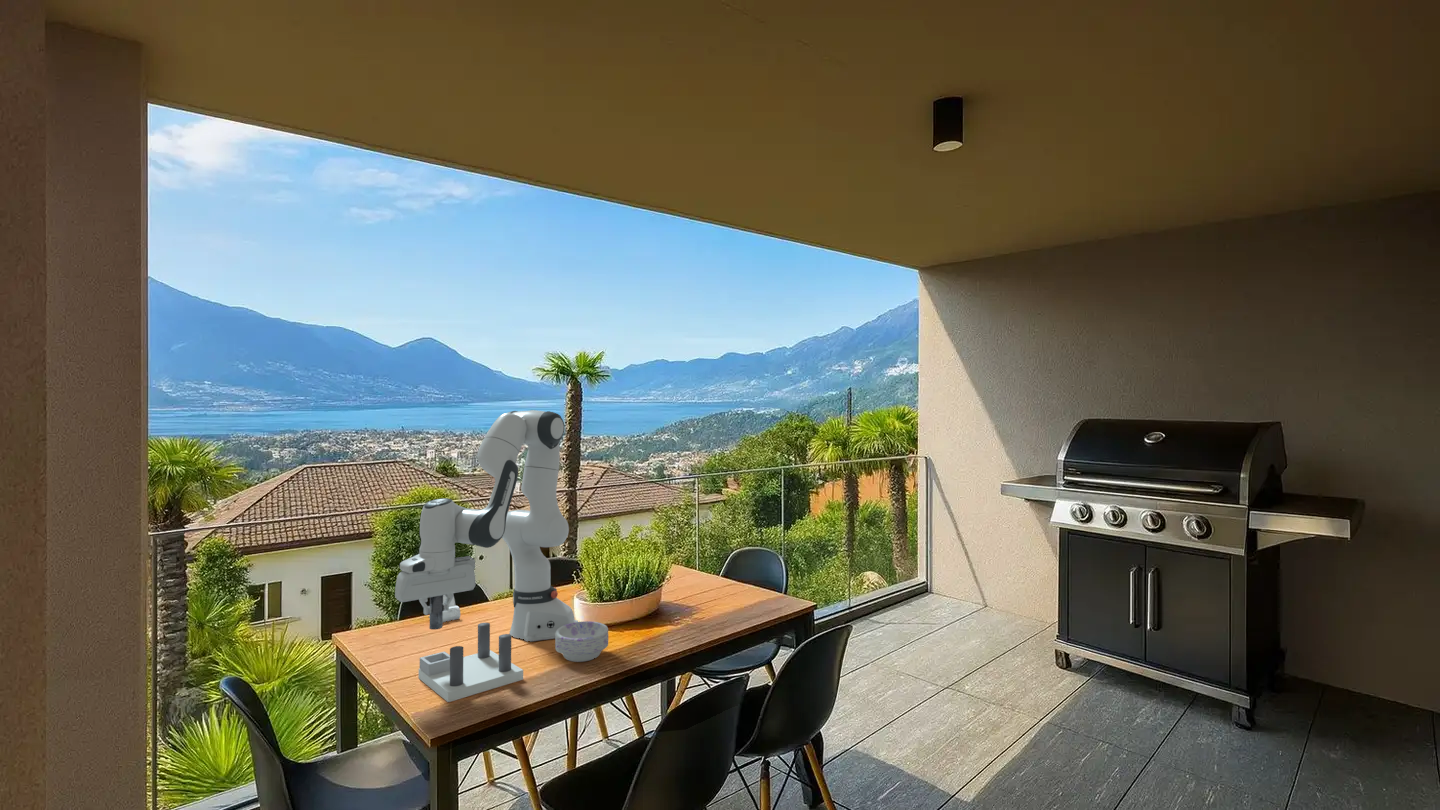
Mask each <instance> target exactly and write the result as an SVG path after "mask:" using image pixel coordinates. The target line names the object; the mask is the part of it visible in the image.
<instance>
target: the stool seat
mask: <svg viewBox="0 0 1440 810" xmlns="http://www.w3.org/2000/svg"><path fill="white" fill-rule="evenodd" d="M490 648H491V624H490V622H480V623H478V624H477V652H476V653H473V654H470V655H466V656H465V655H464V647H463V646H462V645H456V646H452V647H450V648H449V653H448V652H446V651H440V652H437V653H433V654H429V655H425V656H422V657H419V668H418V679H419V680H420V681H422V683H424V684H425V685H426V686H428V688H430V689H431V690H432V691H433V692H434V693H436V694H437V695H439V697H441V698H442V699H443V700H445V701H446V702H447V703H451V702H454V701H458V700H460V699H463V698H466V697H470V696H474V695H476V694H480V693H484V692H486V691H489V690H494V689H496V688H500V687H504V686H506V685H509V684H512V683H516V682H520V681H523V680H524V669H523V668H521V667H519V666H518V665H516V664H514V663H512V636H511V635H510V633H503V634H500V635H499V636H498V653H496V652H494V651H493V650H492V649H490Z"/></svg>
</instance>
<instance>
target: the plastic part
mask: <svg viewBox="0 0 1440 810" xmlns="http://www.w3.org/2000/svg"><path fill="white" fill-rule="evenodd" d="M446 598H447V597H446V596H445V595H443V603H444V602H445V600H446ZM428 619H430V615H429V616H428ZM460 619H461V609H460V606H458V605H456V599H455V596H454V594H453V599H452V600H451V602H450V604H449V610H448V611H443V623H446V621H447V622H452V621H455V620H460ZM451 620H452V621H451Z"/></svg>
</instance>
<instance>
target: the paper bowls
mask: <svg viewBox="0 0 1440 810" xmlns="http://www.w3.org/2000/svg"><path fill="white" fill-rule="evenodd" d="M554 640H555V642H554V643H555V644H554V646H555V651H556V652H557V653H559V654H562V656H563V658H564V659H566V660H567V661H569V662H573V663H574V662H575V663H584V662H588V661H592V660H595V659H597V658H598V657H599V656H600V655H601V652H602V651H603V650H605V649H607V647H608V646H609V628H608V626H607V625H606V624H604V623H602V622H597V621H592V620H591V621H579V622H574V623H569V624H566V625H563V626H561V627H560V628H558V629H557V630H556V632H555V638H554ZM594 658H595V659H594Z"/></svg>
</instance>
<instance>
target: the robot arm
mask: <svg viewBox="0 0 1440 810" xmlns="http://www.w3.org/2000/svg"><path fill="white" fill-rule="evenodd" d="M565 429H566V428H565V422H564V420H563V417H562V416H561V415H560V414H559V413H557V412H554V411H550V410H549V411H545V410H536V409H534V410H533V409H531V410H520V411H518V410H513V411H508V412H506V413H503V414H501V415H499V416H498V417H497V418H496V420H494V422H493V423H492V425H491V426H490V428H489V429H488V431H487V433H486V434H485V436H484V438H483V440H482V442H481V443H480V445H479V448H478V451H477V455H476V458H477V461H478V462H477V463H478V464H479V466H480V467H481V469H482V470H483V471H484V472H486V473H487V474H488V475H489V476H492V478H494V486H493V489H492V492H491V495H490V498H489V500H488V501H489V502H488V504H487V506H485V507H484V508H481V509H476V508H470V507H469V508H466V507H464V506H461V505H458V504H456V503H455V502H454V500H452V499H451V498H443V497H442V498H438V499H437V498H436V499H433V500H430V501H427V502H426V503H424V505H423V507H422V510H421V514H420V519H419V520H420V521H419V537H420V540H421V541H420V546H419V552H418V554H415V555H413V556H412V557H409V558H407V559H404V560H402V561H401V562H400V563H399V569H400V570H401V571H400V572H399V573H398V575H397V577H396V582H395V588H394V598H396V600H397V601H399V602H400V603H406V602H411V601H417V600H418V601H419V603H420V604H421V606H422V608H423V614H424V615H425V616H427V615H430V614H431V613H432V612H431V610H432V607H430V605H427V602H428V599H430V597H435V596H440V595H445V596H446V597H447V598H446V600H445V602H444V603H443V611H448V610H449V604H450V602H451V600H452V599H453V595H454V594H456V593H462V592H467V591H469V592H470V591H473V590H474V588H476V574H475V573H476V572H475V568H476V560H475V558H473V557H471V556H470V555H467V556H461V557H460V556H459V557H456V545H455V544H456V543H461V544H464V545H465V544H466V545H473V546H477V547H481V548H487V549H488V548H489V549H490V548H492V547H494V546H495V545H497V543H499V542H500V540H501V539H502V540H503V541H504V543H505V544H506V545H507V548H508V549H509V552H510V555H511V557H512V560H513V565H514V589H513V592H512V604H513V607H514V609H513V617H512V622H511V626H510V631H509V634H510V635H511V637H512V636H513V638H515V639H519V638H520V640H523V639H524V641H525V642H528V641H530V642H538V641H545V640H552V639H554V640H555V632H556V630H557V629H558V628H560V627H561V626H563V625H566V624H569V623H574V622H578V621H579V620H577V619H575V614H574V612H573V608H571V606H569V604H567V603H565V602H564V601H562V600H561V599H559V598H558V591H557V590H558V589H557V588H556V586H552V585H551V562H550V560H549V559H548V558H547V557H546V556H545V555H544V554H543V552H542V549H541V548H554V547H558V546H559V547H560V546H561V545H563V544H564V543H565V542H566V540H567V538H568V536H569V534H570V533H569V532H570V527H569V523H568V520H567V519H566V518H565V516H563V513H562V512H561V510H560V507H559V504H558V497H557V488H558V487H557V486H558V479H559V470H560V463H561V462H560V461H561V453H560V451H561V450H560V441H561V440H562V439H563V436H564V434H565ZM523 445H525V446H527V449H528V450H527V453H526V456H525V460H524V467H523V473H522V474H523V475H522V482H521V486H520V487H521V489H520V490H521V493H522V494H523V495H524V496H525V497H526V498H527V501H528V504H529V509H528V510H525V509H515V510H510V511H509V509H510V507H511V503H512V499H513V497H514V492H515V490H516V486H517V482H518V477H519V467H518V465H517V464H516V463H517V458H518V456H519V454H520V452H521V450H522V446H523Z"/></svg>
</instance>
